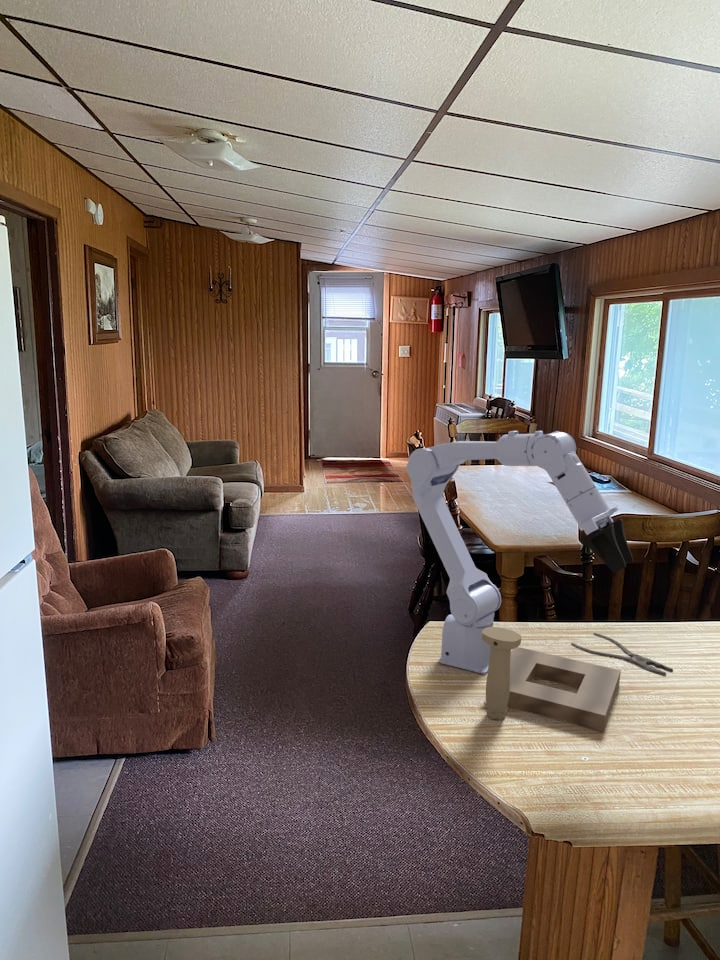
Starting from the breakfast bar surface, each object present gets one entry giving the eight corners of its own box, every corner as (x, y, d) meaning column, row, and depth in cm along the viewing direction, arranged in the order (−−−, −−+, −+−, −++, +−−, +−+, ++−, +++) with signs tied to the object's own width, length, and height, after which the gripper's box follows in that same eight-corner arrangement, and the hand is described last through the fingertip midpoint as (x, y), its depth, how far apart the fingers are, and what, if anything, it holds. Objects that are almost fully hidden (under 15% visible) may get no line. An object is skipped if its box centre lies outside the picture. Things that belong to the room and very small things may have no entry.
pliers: (586, 629, 155) (682, 657, 143) (586, 633, 155) (682, 661, 143) (568, 644, 148) (668, 674, 135) (568, 647, 148) (667, 678, 136)
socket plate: (486, 700, 125) (487, 685, 125) (513, 660, 141) (514, 646, 140) (603, 732, 116) (605, 715, 116) (619, 685, 132) (620, 670, 131)
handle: (484, 704, 124) (489, 624, 121) (519, 715, 121) (525, 634, 117) (472, 716, 120) (477, 634, 117) (508, 728, 117) (514, 644, 113)
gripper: (593, 485, 112) (640, 561, 109) (610, 482, 124) (652, 550, 121) (555, 506, 115) (599, 581, 112) (574, 501, 127) (615, 568, 124)
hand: (624, 566), depth 117 cm, fingers open, 7 cm apart
